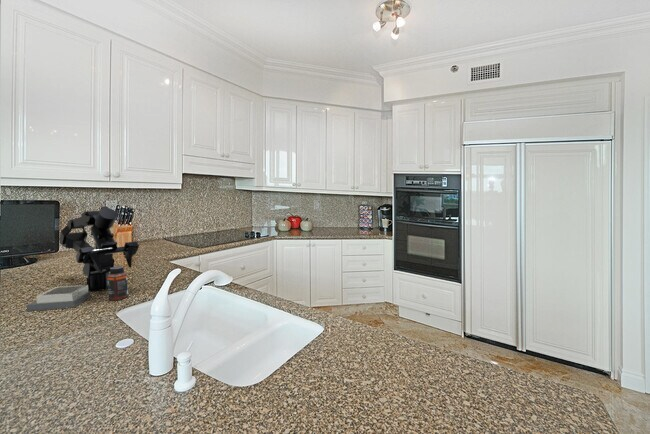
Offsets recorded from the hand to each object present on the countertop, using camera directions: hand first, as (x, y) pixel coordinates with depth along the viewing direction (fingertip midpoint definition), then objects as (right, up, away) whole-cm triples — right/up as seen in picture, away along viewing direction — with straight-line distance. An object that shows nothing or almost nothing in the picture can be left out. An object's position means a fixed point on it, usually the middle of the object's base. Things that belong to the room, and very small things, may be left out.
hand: (116, 269), depth 109 cm
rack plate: (-15, -11, -5) cm, 20 cm away
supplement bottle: (+1, -11, 0) cm, 11 cm away
